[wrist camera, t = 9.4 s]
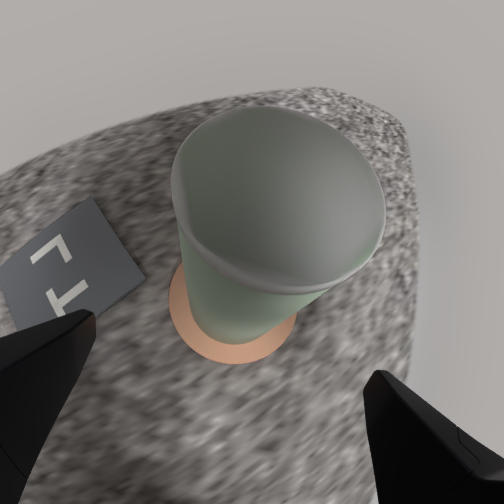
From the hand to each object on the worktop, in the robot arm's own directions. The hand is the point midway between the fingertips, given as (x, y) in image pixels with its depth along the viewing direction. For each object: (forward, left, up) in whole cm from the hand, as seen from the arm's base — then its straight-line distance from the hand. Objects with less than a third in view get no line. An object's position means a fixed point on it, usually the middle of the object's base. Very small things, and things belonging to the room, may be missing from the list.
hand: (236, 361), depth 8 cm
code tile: (-5, +11, -9) cm, 15 cm away
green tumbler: (+3, +3, -9) cm, 10 cm away
